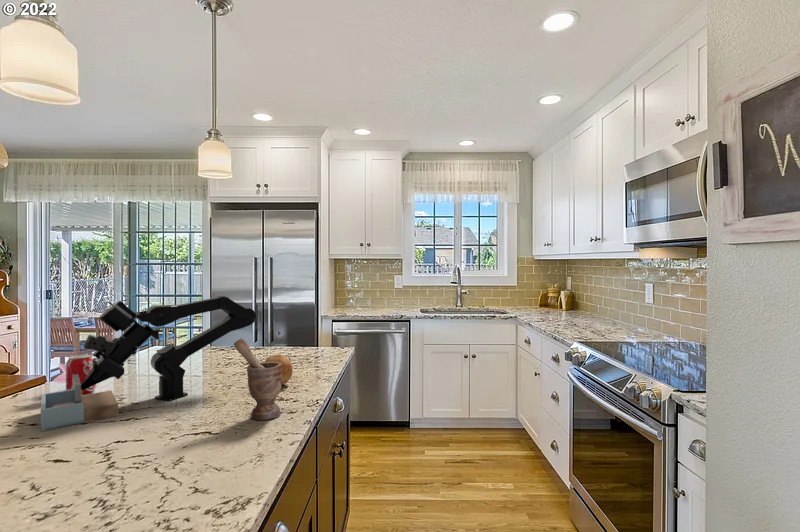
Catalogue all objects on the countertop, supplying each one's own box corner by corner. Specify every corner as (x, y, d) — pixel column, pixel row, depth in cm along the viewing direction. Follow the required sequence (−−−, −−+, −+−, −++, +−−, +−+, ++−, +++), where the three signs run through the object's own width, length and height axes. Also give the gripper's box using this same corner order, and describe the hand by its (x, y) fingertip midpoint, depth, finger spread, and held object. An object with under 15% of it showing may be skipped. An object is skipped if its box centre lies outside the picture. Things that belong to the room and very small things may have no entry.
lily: (44, 402, 124) (58, 374, 123) (45, 379, 132) (58, 353, 131) (91, 404, 132) (104, 379, 131) (89, 383, 140) (101, 358, 140)
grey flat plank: (78, 395, 115) (78, 374, 115) (81, 408, 104) (80, 384, 104) (72, 396, 114) (72, 374, 114) (75, 409, 104) (74, 385, 104)
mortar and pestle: (235, 426, 101) (234, 343, 101) (234, 414, 108) (233, 337, 108) (284, 418, 105) (283, 339, 105) (280, 408, 113) (279, 334, 113)
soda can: (79, 400, 122) (79, 359, 122) (59, 398, 123) (59, 358, 123) (101, 392, 129) (100, 354, 129) (82, 391, 130) (81, 353, 130)
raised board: (111, 400, 121) (111, 390, 121) (118, 415, 109) (118, 403, 109) (80, 406, 116) (80, 395, 116) (83, 422, 104) (83, 410, 104)
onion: (297, 381, 139) (297, 351, 139) (286, 390, 129) (286, 358, 129) (269, 380, 140) (269, 351, 140) (256, 389, 130) (256, 357, 130)
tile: (74, 410, 111) (74, 401, 111) (75, 415, 107) (75, 405, 107) (52, 415, 108) (52, 405, 108) (53, 419, 105) (53, 409, 105)
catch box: (80, 405, 116) (79, 388, 116) (83, 422, 104) (83, 402, 104) (41, 412, 111) (41, 394, 111) (40, 431, 98) (40, 410, 98)
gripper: (101, 320, 121) (52, 364, 113) (108, 327, 106) (52, 378, 99) (133, 344, 126) (88, 388, 118) (144, 353, 111) (93, 404, 104)
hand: (80, 389), depth 110 cm, fingers closed, pressing on grey flat plank
